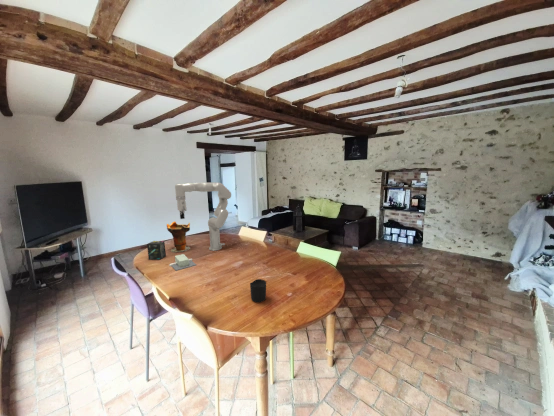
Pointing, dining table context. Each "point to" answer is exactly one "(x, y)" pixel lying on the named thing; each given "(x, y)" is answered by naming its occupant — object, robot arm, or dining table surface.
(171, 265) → the rail
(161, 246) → the tampon box
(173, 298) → the dining table surface
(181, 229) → the decorative vase
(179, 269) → the mat
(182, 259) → the sage block
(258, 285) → the pen holder
